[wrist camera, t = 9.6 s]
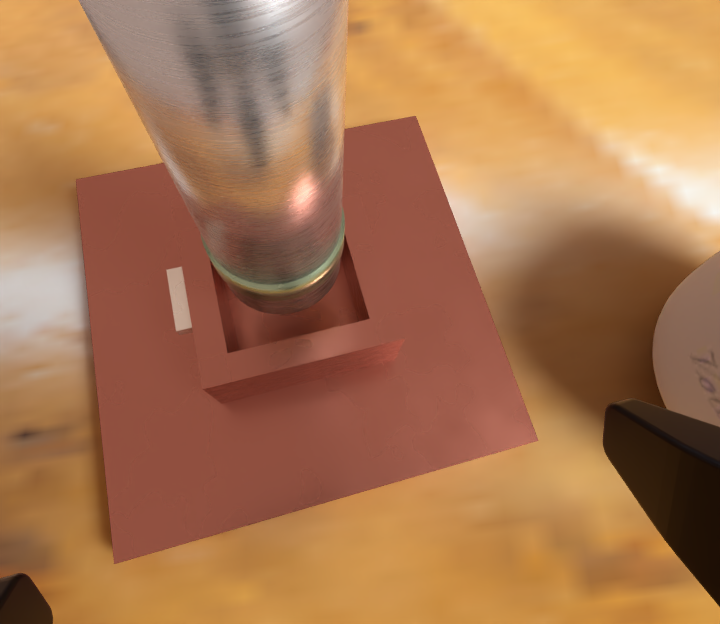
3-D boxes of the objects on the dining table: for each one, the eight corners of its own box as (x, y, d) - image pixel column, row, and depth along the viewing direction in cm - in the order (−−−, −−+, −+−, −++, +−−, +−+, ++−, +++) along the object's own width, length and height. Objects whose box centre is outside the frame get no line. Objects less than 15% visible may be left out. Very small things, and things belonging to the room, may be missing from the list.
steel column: (368, 307, 16) (470, -228, 4) (223, 341, 16) (-162, -172, 3) (332, 186, 18) (331, -469, 6) (199, 213, 17) (-131, -459, 5)
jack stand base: (526, 443, 20) (573, 432, 16) (127, 559, 18) (70, 579, 14) (412, 132, 25) (426, 66, 21) (88, 194, 23) (37, 134, 19)
